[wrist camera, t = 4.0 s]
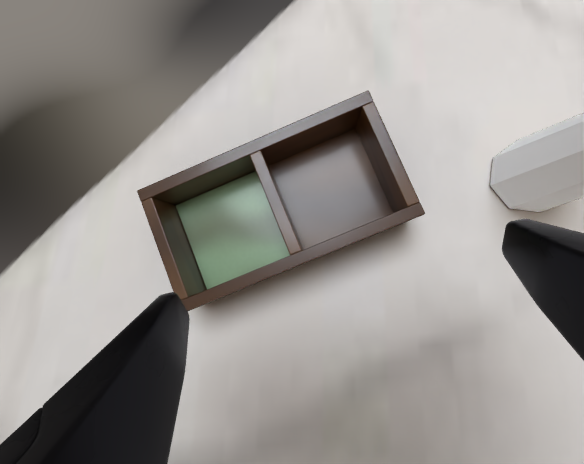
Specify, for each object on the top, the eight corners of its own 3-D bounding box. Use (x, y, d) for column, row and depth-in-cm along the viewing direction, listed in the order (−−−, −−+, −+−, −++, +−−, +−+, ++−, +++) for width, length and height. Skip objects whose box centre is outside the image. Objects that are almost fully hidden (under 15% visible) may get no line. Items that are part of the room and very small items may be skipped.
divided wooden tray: (406, 220, 23) (425, 213, 19) (204, 303, 23) (180, 313, 19) (359, 117, 24) (368, 89, 20) (166, 201, 24) (136, 190, 20)
